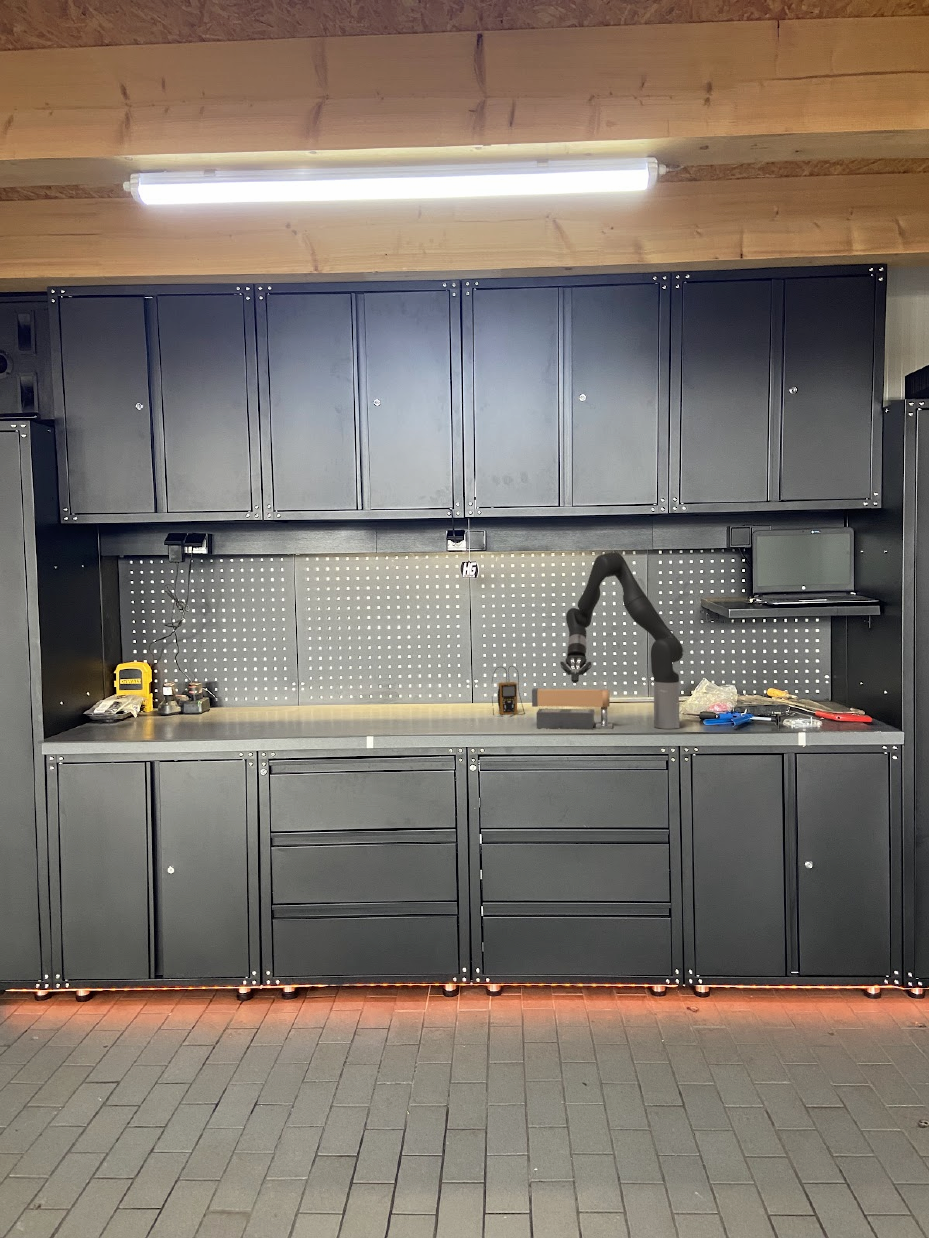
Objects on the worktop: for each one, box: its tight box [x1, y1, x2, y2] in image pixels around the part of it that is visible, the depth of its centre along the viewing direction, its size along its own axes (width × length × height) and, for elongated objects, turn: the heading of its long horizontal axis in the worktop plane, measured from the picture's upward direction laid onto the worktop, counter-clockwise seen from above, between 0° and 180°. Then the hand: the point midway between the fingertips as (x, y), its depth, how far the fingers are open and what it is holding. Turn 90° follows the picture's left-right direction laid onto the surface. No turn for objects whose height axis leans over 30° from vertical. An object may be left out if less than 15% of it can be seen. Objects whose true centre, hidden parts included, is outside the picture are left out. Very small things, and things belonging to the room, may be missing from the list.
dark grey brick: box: [536, 708, 595, 730], centre depth 349 cm, size 21×10×6 cm, turn 79°
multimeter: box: [491, 665, 526, 717], centre depth 377 cm, size 15×10×20 cm
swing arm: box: [531, 687, 611, 708], centre depth 348 cm, size 29×4×6 cm, turn 79°
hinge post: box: [595, 707, 614, 730], centre depth 346 cm, size 6×6×8 cm
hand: (574, 681), depth 360 cm, fingers closed
